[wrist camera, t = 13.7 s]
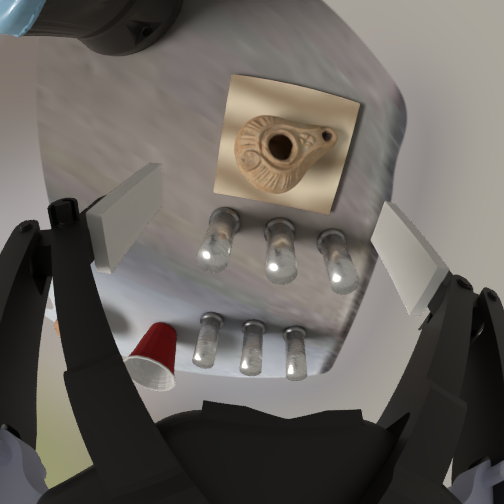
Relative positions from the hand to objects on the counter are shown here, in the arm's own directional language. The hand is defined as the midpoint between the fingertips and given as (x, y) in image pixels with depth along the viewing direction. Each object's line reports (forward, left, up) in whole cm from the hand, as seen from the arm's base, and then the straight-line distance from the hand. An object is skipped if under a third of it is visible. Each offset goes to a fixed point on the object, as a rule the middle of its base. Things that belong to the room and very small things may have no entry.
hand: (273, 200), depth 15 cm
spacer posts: (+23, +4, -21) cm, 31 cm away
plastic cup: (+40, -14, -21) cm, 48 cm away
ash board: (0, +2, -21) cm, 21 cm away
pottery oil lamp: (0, +2, -20) cm, 20 cm away
